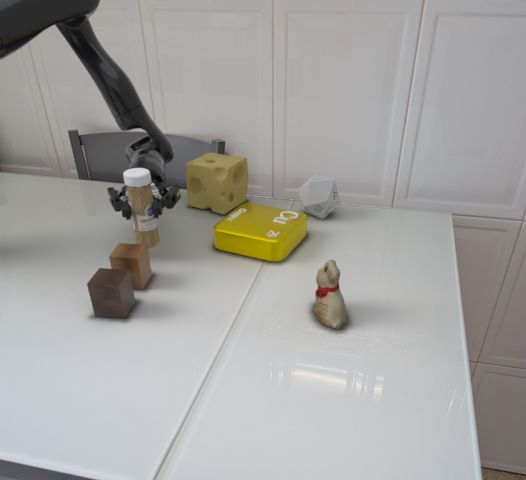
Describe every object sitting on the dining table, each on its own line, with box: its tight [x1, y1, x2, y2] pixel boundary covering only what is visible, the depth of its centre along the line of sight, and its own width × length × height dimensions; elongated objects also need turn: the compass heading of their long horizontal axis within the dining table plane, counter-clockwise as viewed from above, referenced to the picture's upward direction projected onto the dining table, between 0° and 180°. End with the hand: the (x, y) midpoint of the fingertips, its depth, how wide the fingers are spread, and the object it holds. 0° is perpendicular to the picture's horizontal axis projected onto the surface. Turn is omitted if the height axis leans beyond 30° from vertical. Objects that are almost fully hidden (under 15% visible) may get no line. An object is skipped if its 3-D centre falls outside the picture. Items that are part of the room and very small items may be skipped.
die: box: [297, 173, 342, 220], centre depth 108 cm, size 8×9×10 cm
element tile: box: [213, 202, 308, 263], centre depth 99 cm, size 15×15×5 cm
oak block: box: [108, 242, 153, 290], centre depth 86 cm, size 5×5×6 cm
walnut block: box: [86, 267, 136, 320], centre depth 79 cm, size 5×5×6 cm
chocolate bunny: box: [314, 259, 347, 330], centre depth 76 cm, size 6×8×10 cm
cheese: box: [184, 151, 249, 216], centre depth 112 cm, size 10×11×10 cm
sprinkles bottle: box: [122, 168, 161, 249], centre depth 89 cm, size 5×5×14 cm
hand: (141, 213), depth 86 cm, fingers closed on sprinkles bottle, 4 cm apart
